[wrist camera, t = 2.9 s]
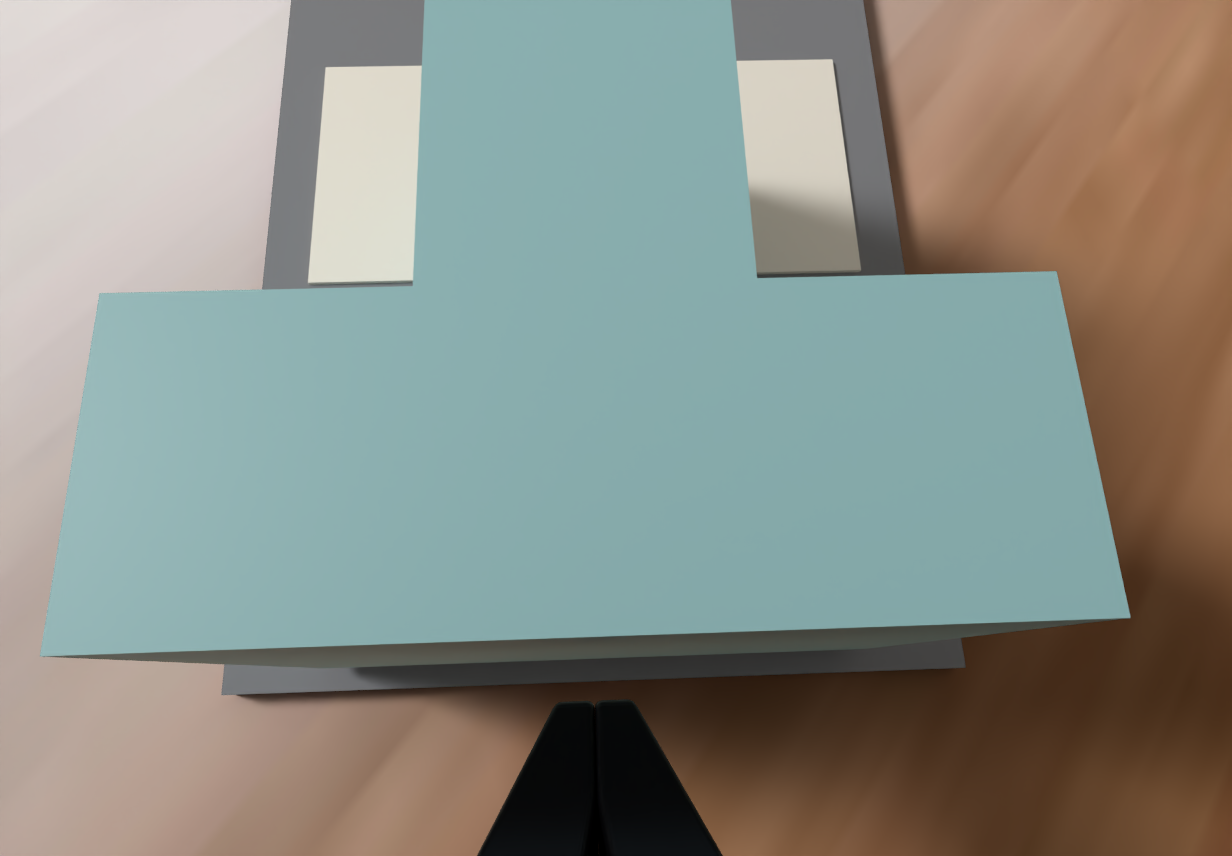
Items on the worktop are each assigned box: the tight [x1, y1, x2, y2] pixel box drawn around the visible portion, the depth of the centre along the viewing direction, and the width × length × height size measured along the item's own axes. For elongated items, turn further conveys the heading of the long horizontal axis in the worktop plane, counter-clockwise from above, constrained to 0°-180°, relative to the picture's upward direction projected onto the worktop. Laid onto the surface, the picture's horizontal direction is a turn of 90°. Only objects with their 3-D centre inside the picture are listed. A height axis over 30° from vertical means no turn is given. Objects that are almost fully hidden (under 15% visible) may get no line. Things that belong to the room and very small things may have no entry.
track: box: [222, 0, 966, 695], centre depth 17 cm, size 22×14×4 cm, turn 2°
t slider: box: [40, 0, 1131, 668], centre depth 13 cm, size 11×10×8 cm
